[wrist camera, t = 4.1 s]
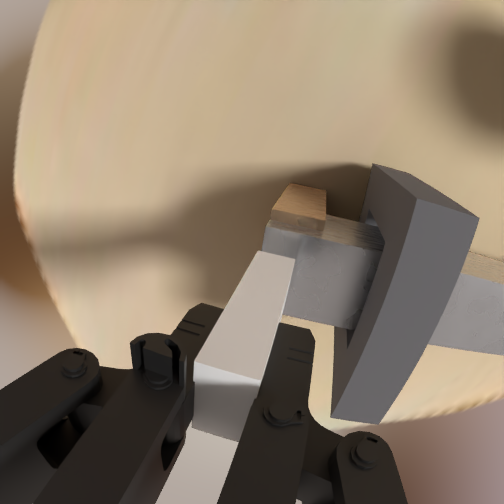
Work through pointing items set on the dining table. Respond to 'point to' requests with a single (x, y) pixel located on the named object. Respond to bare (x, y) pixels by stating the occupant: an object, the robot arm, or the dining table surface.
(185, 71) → the dining table surface
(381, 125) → the dining table surface
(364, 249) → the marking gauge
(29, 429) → the robot arm
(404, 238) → the collar
